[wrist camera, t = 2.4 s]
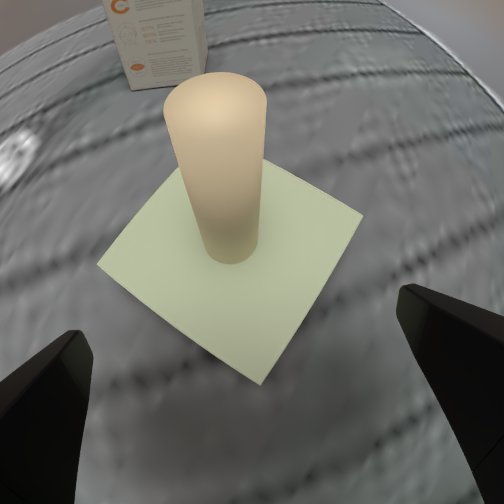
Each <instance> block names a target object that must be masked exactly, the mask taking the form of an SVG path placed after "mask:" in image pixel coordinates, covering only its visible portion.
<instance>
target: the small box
mask: <svg viewBox="0 0 504 504" xmlns="http://www.w3.org/2000/svg"><path fill="white" fill-rule="evenodd" d="M102 2H103V6H104V9H105V12H106V15H107V19H108V22H109V25H110V28H111V31H112V34H113V38H114V41H115V44H116V47H117V50H118V53H119V56H120V59H121V62H122V65H123V68H124V71H125V74H126V77H127V80H128V82H129V85H130V88H131V90H132V91H134V90H141V89H148V88H156V87H165V86H175V85H180V84H181V83H183V82H184V81H186V80H188V79H190V78H193V77H195V76H198V75H202V74H204V72H205V66H206V60H207V55H208V48H207V39H206V29H205V19H204V11H203V2H202V0H102Z"/></svg>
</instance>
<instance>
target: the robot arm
mask: <svg viewBox="0 0 504 504" xmlns="http://www.w3.org/2000/svg"><path fill="white" fill-rule="evenodd" d="M396 315H397V319H398V321H399V323H400V325H401V327H402V330H403V332H404V334H405V336H406V339H407V341H408V343H409V346H410V348H411V350H412V353H413V355H414V357H415V359H416V361H417V363H418V365H419V366H420V368H421V370H422V372H423V374H424V375H425V377H426V379H427V381H428V383H429V385H430V387H431V388H432V390H433V392H434V394H435V396H436V398H437V400H438V402H439V404H440V406H441V408H442V410H443V412H444V414H445V416H446V418H447V420H448V422H449V424H450V426H451V428H452V430H453V432H454V434H455V436H456V438H457V440H458V442H459V444H460V447H461V449H462V451H463V453H464V455H465V458H466V460H467V462H468V464H469V467H470V469H471V471H473V472H472V474H473V476H474V479H475V481H476V483H477V486H478V488H479V491H480V493H481V496H482V498H483V501H484V503H485V504H504V316H501V315H499V314H496V313H493V312H491V311H488V310H485V309H483V308H480V307H477V306H475V305H472V304H469V303H466V302H464V301H461V300H458V299H456V298H453V297H450V296H447V295H445V294H442V293H439V292H436V291H434V290H431V289H428V288H425V287H423V286H420V285H417V284H408V285H403V286H402V287H401V288H400V290H399V295H398V301H397V307H396ZM92 366H93V353H92V351H91V349H90V346H89V344H88V342H87V340H86V338H85V336H84V334H83V332H82V331H81V330H69V331H67V332H65V333H64V334H63V335H61V336H60V337H58V338H57V339H56V340H54V341H53V342H52V343H50V344H49V345H48V346H46V347H45V348H44V349H42V350H41V351H40V352H38V353H37V354H36V355H34V356H33V357H32V358H31V359H29V360H28V361H27V362H25V363H24V364H23V365H21V366H20V367H19V368H18V369H16V370H15V371H14V372H12V373H11V374H10V375H9V376H7V377H6V378H5V379H3V380H2V381H1V382H0V504H74V501H75V490H76V481H77V472H78V465H79V457H80V450H81V444H82V438H83V432H84V426H85V420H86V415H87V409H88V403H89V394H90V384H91V375H92Z"/></svg>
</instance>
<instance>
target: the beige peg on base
mask: <svg viewBox="0 0 504 504" xmlns="http://www.w3.org/2000/svg"><path fill="white" fill-rule="evenodd" d="M266 105H267V101H266V96H265V93H264V91H263V90H262V88H261V87H260V86H259V85H258V84H257V83H256V82H254V81H253V80H251V79H249V78H247V77H245V76H242V75H239V74H234V73H227V72H214V73H207V74H202V75H198V76H195V77H193V78H190V79H188V80H186V81H184V82H183V83H181V84H180V85H178V86H177V87H176V88H175V89H174V90H173V91H172V92H171V93H170V94H169V95H168V97H167V99H166V101H165V104H164V110H163V111H164V117H165V120H166V124H167V127H168V131H169V134H170V138H171V141H172V144H173V148H174V151H175V155H176V158H177V161H178V165H179V167H178V168H177V169H176V170H175V171H174V172H173V173H172V174H171V175H170V177H169V178H168V179H167V180H166V181H165V182H164V183H163V184H162V185H161V187H160V188H159V189H158V190H157V191H156V192H155V193H154V194H153V196H152V197H151V198H150V199H149V200H148V201H147V203H146V204H145V205H144V206H143V207H142V208H141V210H140V211H139V212H138V213H137V214H136V215H135V217H134V218H133V219H132V220H131V222H130V223H129V224H128V225H127V226H126V228H125V229H124V230H123V231H122V233H121V234H120V235H119V236H118V238H117V239H116V240H115V241H114V243H113V244H112V245H111V246H110V248H109V249H108V250H107V252H106V253H105V254H104V255H103V257H102V258H101V259H100V261H99V262H98V263H97V265H98V266H99V267H100V268H102V269H103V270H104V271H105V272H106V273H107V274H109V275H110V276H111V277H112V278H113V279H114V280H116V281H117V282H118V283H119V284H120V285H122V286H123V287H124V288H125V289H127V290H128V291H129V292H130V293H131V294H133V295H134V296H135V297H136V298H138V299H139V300H140V301H141V302H143V303H144V304H145V305H146V306H148V307H149V308H150V309H152V310H153V311H154V312H155V313H157V314H158V315H159V316H161V317H162V318H163V319H165V320H166V321H167V322H169V323H170V324H171V325H173V326H174V327H175V328H177V329H178V330H179V331H181V332H182V333H183V334H185V335H186V336H188V337H189V338H190V339H192V340H193V341H194V342H196V343H197V344H199V345H200V346H202V347H203V348H204V349H206V350H207V351H209V352H210V353H212V354H213V355H214V356H216V357H217V358H219V359H220V360H222V361H223V362H225V363H226V364H228V365H229V366H231V367H232V368H234V369H235V370H237V371H238V372H240V373H241V374H243V375H244V376H246V377H248V378H249V379H251V380H252V381H254V382H255V383H257V384H259V385H261V384H262V382H263V381H264V379H265V378H266V376H267V375H268V373H269V372H270V370H271V369H272V367H273V366H274V364H275V363H276V361H277V360H278V358H279V357H280V355H281V354H282V352H283V351H284V349H285V348H286V346H287V345H288V343H289V342H290V340H291V338H292V337H293V335H294V334H295V332H296V331H297V329H298V327H299V326H300V324H301V323H302V321H303V319H304V318H305V316H306V315H307V313H308V311H309V310H310V308H311V306H312V305H313V303H314V302H315V300H316V298H317V297H318V295H319V293H320V292H321V290H322V288H323V286H324V285H325V283H326V281H327V280H328V278H329V276H330V275H331V273H332V271H333V269H334V268H335V266H336V264H337V262H338V261H339V259H340V257H341V255H342V254H343V252H344V250H345V248H346V246H347V245H348V243H349V241H350V239H351V237H352V236H353V234H354V232H355V230H356V228H357V226H358V225H359V223H360V221H361V219H362V217H363V215H361V214H360V213H358V212H356V211H355V210H353V209H352V208H350V207H348V206H347V205H345V204H343V203H342V202H340V201H338V200H336V199H335V198H333V197H331V196H330V195H328V194H326V193H325V192H323V191H321V190H319V189H318V188H316V187H314V186H312V185H311V184H309V183H307V182H305V181H303V180H302V179H300V178H298V177H296V176H294V175H293V174H291V173H289V172H287V171H285V170H283V169H282V168H280V167H278V166H276V165H274V164H272V163H270V162H268V161H267V160H265V159H263V152H264V136H265V121H266Z"/></svg>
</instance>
